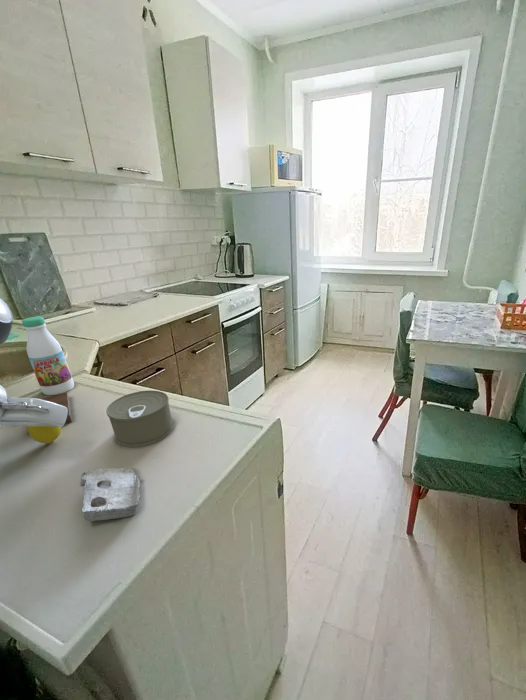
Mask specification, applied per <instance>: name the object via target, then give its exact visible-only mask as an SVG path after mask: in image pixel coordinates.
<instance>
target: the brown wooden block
mask: <svg viewBox="0 0 526 700" xmlns="http://www.w3.org/2000/svg"><path fill="white" fill-rule="evenodd" d="M40 399H41V400H45V401H49V402H52V403H56V404H59V405H62V406H65V407H67V409H68V413H67V418H66V421H65V424H64V425H66V424H70V423H73V418H72V408H71V400H70V396H69V393H68V391H67V392H64V393H61V394H57V395H48V396H46V397H42V398H40Z"/></svg>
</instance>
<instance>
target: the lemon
mask: <svg viewBox="0 0 526 700" xmlns="http://www.w3.org/2000/svg"><path fill="white" fill-rule="evenodd" d="M26 430H27V433H28V434H29V436H30V437H31V438H32V440H34V441H35V442H38V443H39V444H53V443H54V441H56V440H57V439H58V438H59V436H60V435H61V433H62V427H52V426H26Z"/></svg>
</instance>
